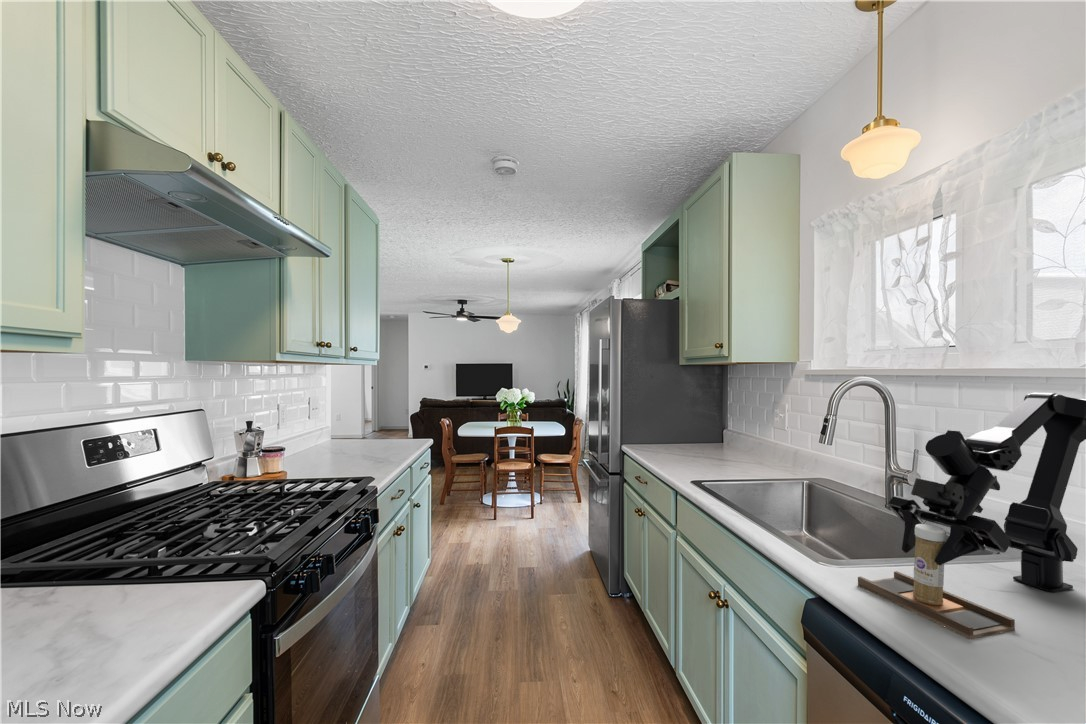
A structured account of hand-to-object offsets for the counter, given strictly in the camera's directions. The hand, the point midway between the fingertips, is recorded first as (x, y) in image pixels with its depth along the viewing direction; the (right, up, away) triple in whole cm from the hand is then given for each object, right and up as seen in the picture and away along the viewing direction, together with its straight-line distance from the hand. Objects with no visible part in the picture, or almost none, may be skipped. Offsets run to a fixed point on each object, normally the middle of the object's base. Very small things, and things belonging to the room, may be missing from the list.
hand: (919, 557), depth 93 cm
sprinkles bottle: (+2, -8, 0) cm, 8 cm away
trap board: (+2, -9, 0) cm, 9 cm away
